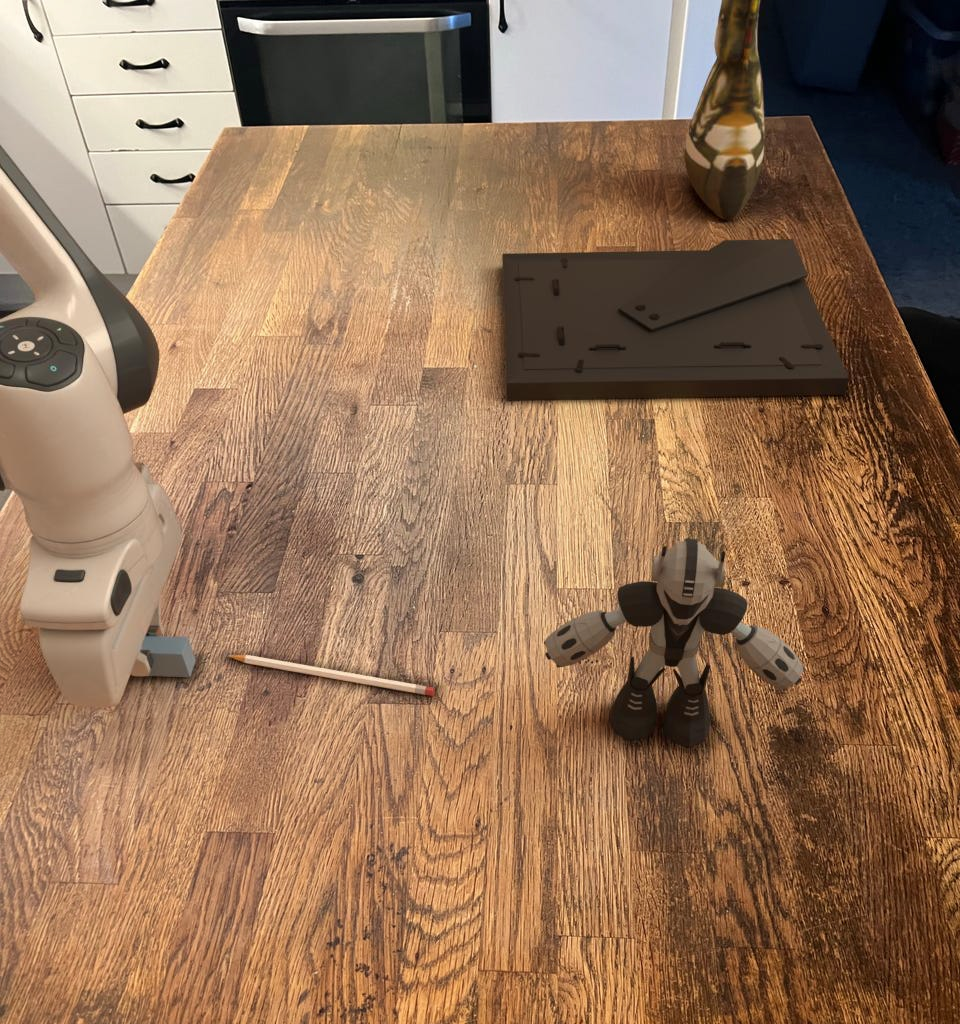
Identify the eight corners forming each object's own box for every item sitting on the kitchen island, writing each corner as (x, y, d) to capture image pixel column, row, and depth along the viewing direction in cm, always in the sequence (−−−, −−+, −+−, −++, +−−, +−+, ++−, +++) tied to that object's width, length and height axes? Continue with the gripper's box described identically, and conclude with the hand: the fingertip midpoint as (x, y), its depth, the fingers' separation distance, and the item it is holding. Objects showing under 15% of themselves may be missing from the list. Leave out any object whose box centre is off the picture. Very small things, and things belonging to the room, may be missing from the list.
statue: (766, 222, 142) (824, -73, 116) (691, 225, 142) (732, -70, 116) (740, 173, 153) (788, -105, 128) (670, 176, 153) (704, -102, 127)
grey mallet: (199, 651, 88) (191, 628, 85) (187, 686, 85) (178, 663, 83) (77, 647, 88) (66, 624, 86) (61, 681, 85) (50, 658, 83)
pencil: (432, 698, 84) (431, 692, 83) (226, 661, 87) (225, 656, 86) (434, 691, 84) (434, 685, 84) (230, 655, 87) (228, 649, 87)
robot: (779, 711, 82) (840, 527, 67) (783, 758, 79) (847, 576, 64) (543, 686, 84) (552, 502, 69) (537, 731, 81) (545, 549, 66)
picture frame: (787, 265, 133) (502, 270, 134) (793, 238, 131) (502, 244, 131) (844, 395, 113) (506, 400, 113) (852, 367, 110) (506, 373, 110)
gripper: (102, 449, 82) (146, 571, 92) (9, 629, 68) (73, 749, 79) (177, 450, 82) (213, 572, 92) (99, 631, 68) (151, 751, 78)
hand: (148, 655), depth 85 cm, fingers closed on grey mallet, 2 cm apart
